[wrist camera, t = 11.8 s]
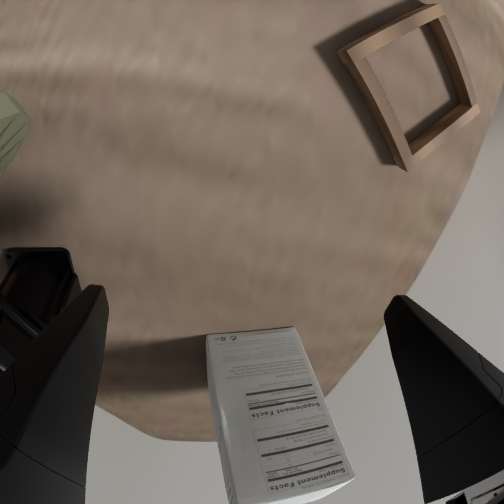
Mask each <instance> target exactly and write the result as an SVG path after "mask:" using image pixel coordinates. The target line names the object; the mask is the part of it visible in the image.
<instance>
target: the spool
mask: <svg viewBox="0 0 504 504" xmlns="http://www.w3.org/2000/svg"><path fill="white" fill-rule="evenodd" d="M30 121H31V118H30V117H29V116H28V114H27V113H26V112H25V110H24V109H23V108H22V106H21V105H20V104H19V102H18V101H17V100H15V99H14V98H12V97H11V96H10V95H8V94H7V93H6V92H2V93H0V176H1V175H2V173H3V172H4V170H5V169H6V168H7V166H8V165H9V163H10V162H11V161H12V159H13V158H14V156H15V154H16V153H17V151H18V149H19V147H20V146H21V144H22V142H23V141H24V139H25V138H26V136H27V132H28V128H29V124H30Z"/></svg>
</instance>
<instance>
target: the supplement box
mask: <svg viewBox="0 0 504 504" xmlns="http://www.w3.org/2000/svg"><path fill="white" fill-rule="evenodd" d="M206 361H207V379H208V387H209V394H210V400H211V407H212V413H213V419H214V426H215V431H216V437H217V442H218V448H219V453H220V458H221V464H222V470H223V475H224V482H225V487H226V492H227V496H228V500H229V504H304V503H307V502H311V501H315V500H317V499H320V498H323V497H324V496H326V495H328V494H330V493H332V492H333V491H335V490H337V489H339V488H340V487H342V486H343V485H345V484H347V483H348V482H350V481H352V480H353V479H354V478H355V477H356V474H355V473H354V469H353V467H352V465H351V462H350V460H349V458H348V455H347V453H346V450H345V447H344V445H343V442H342V440H341V438H340V435H339V433H338V430H337V428H336V425H335V423H334V421H333V418H332V416H331V413H330V411H329V408H328V406H327V403H326V401H325V398H324V396H323V394H322V391H321V389H320V386H319V384H318V381H317V379H316V377H315V374H314V372H313V369H312V367H311V364H310V362H309V360H308V357H307V355H306V352H305V350H304V348H303V345H302V343H301V341H300V338H299V336H298V333H297V331H296V329H295V327H290V328H280V329H271V330H260V331H250V332H238V333H225V334H211V335H207V336H206Z"/></svg>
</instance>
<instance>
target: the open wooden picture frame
mask: <svg viewBox="0 0 504 504" xmlns="http://www.w3.org/2000/svg"><path fill="white" fill-rule="evenodd" d="M426 23H428V24H429V26H430V28H431V30H432V32H433V34H434V36H435V38H436V41H437V43H438V45H439V47H440V50H441V52H442V54H443V57H444V59H445V62H446V64H447V67H448V69H449V72H450V74H451V77H452V80H453V83H454V85H455V88H456V91H457V94H458V97H459V101H460V104H459V105H458V106H457V107H455V108H454V109H453V110H452V111H450V112H449V113H448V114H446V115H445V116H444V117H443V118H441V119H440V120H439V121H437V122H436V123H435V124H434V125H432V126H431V127H430V128H428V129H427V130H426V131H425V132H423V133H422V134H421V135H419V136H418V137H417V138H416V139H414V140H413V141H412V142H410V143H409V144H408V143H407V141H406V138H405V136H404V133H403V131H402V129H401V126H400V124H399V122H398V120H397V117H396V115H395V113H394V111H393V109H392V107H391V105H390V102H389V100H388V98H387V96H386V94H385V92H384V90H383V88H382V86H381V85H380V83H379V81H378V79H377V77H376V75H375V73H374V71H373V70H372V68H371V66H370V64H369V63H368V61H367V59H366V56H367V55H369V54H371V53H372V52H374V51H376V50H378V49H379V48H381V47H383V46H385V45H386V44H388V43H390V42H392V41H393V40H395V39H397V38H399V37H401V36H403V35H405V34H406V33H408V32H410V31H412V30H414V29H416V28H418V27H420V26H422V25H424V24H426ZM336 53H337V54H338V56H339V57H340V59H341V60H342V62H343V64H344V65H345V67H346V68H347V70H348V72H349V73H350V75H351V77H352V78H353V80H354V82H355V83H356V85H357V87H358V89H359V90H360V92H361V94H362V96H363V97H364V99H365V101H366V103H367V105H368V107H369V109H370V110H371V112H372V114H373V116H374V118H375V120H376V122H377V124H378V126H379V128H380V130H381V132H382V134H383V136H384V139H385V141H386V143H387V145H388V147H389V149H390V152H391V154H392V156H393V158H394V161H395V163H396V165H397V166H398V167H400V168H401V169H403V170H405V171H406V172H409V171H410V170H411V169H412V168H414V167H415V166H416V165H417V164H419V163H420V162H421V161H422V160H424V159H425V158H426V157H427V156H428V155H430V154H431V153H432V152H433V151H435V150H436V149H437V148H438V147H439V146H441V145H442V144H443V143H444V142H446V141H447V140H448V139H449V138H450V137H452V136H453V135H454V134H455V133H456V132H458V131H459V130H460V129H461V128H462V127H463V126H465V125H466V124H467V123H468V122H469V121H471V120H472V119H473V118H474V117H475V116H476V115H478V114H479V113H480V110H479V106H478V102H477V99H476V95H475V92H474V88H473V85H472V82H471V79H470V76H469V73H468V70H467V67H466V64H465V61H464V59H463V56H462V53H461V51H460V48H459V46H458V43H457V41H456V38H455V36H454V34H453V31H452V29H451V27H450V25H449V23H448V20H447V18H446V16H445V14H444V12H443V10H442V8H441V6H440V4H426V5H424V6H422V7H419V8H417V9H415V10H413V11H410V12H408V13H406V14H404V15H402V16H400V17H398V18H396V19H394V20H392V21H390V22H388V23H386V24H384V25H382V26H380V27H378V28H376V29H374V30H372V31H370V32H368V33H366V34H365V35H363V36H361V37H359V38H357V39H356V40H354V41H352V42H350V43H349V44H347V45H345V46H343V47H342V48H340V49H338V50H337V51H336Z"/></svg>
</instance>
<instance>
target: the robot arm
mask: <svg viewBox="0 0 504 504" xmlns="http://www.w3.org/2000/svg"><path fill="white" fill-rule="evenodd" d="M9 254H10V255H11V256H10V255H9ZM62 254H64V255H65V256H66V257H64V256H63V255H62ZM5 259H6V262H7V265H8V268H9V271H8V273H7V275H6V276H5V278H4V280H3V281H2V283H1V285H0V504H85V489H86V488H85V486H86V472H87V461H88V451H89V442H90V433H91V426H92V419H93V412H94V406H95V401H96V395H97V389H98V384H99V379H100V374H101V369H102V363H103V357H104V347H105V338H106V330H107V322H108V315H109V306H108V301H107V297H106V293H105V289H104V287H103V286H102V285H94V284H90V285H88V286H87V287H86V288H85V289H84V290H83V291H81V287H80V284H79V280H78V276H77V275H76V273H75V272H74V269H73V264H72V260H71V256H70V253H69V251H68V250H67V249H64V248H48V249H8V250H7V251H6V252H5ZM384 321H385V325H386V330H387V334H388V339H389V344H390V349H391V353H392V358H393V361H394V365H395V368H396V372H397V375H398V379H399V382H400V386H401V390H402V393H403V397H404V401H405V405H406V409H407V413H408V417H409V422H410V426H411V430H412V435H413V440H414V444H415V449H416V454H417V461H418V466H419V472H420V478H421V483H422V491H423V498H424V503H425V504H427V503H430V502H433V501H436V500H439V499H441V498H444V497H446V496H449V495H451V494H454V493H457V492H459V491H461V490H463V491H462V492H461V493H459V494H458V495H456V496H454V497H453V498H451V499H450V500H448V501H447V502H446V504H504V373H503V372H502V371H501V370H499V369H498V368H497V367H495V366H494V365H493V364H492V363H490V362H489V361H488V360H487V359H486V358H484V357H483V356H482V355H481V354H480V353H478V352H477V351H476V350H475V349H474V348H472V347H471V346H470V345H469V344H467V343H466V342H465V341H464V340H463V339H461V338H460V337H459V336H458V335H456V334H455V333H454V332H453V331H452V330H450V329H449V328H448V327H447V326H445V325H444V324H443V323H441V322H440V321H439V320H438V319H436V318H435V317H434V316H432V315H431V314H430V313H429V312H427V311H426V310H425V309H423V308H422V307H421V306H420V305H418V304H417V303H416V302H414V301H413V300H412V299H410V298H409V297H408V296H406V295H396V296H394V297H393V299H392V300H391V302H390V304H389V305H388V307H387V309H386V310H385V313H384Z"/></svg>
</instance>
